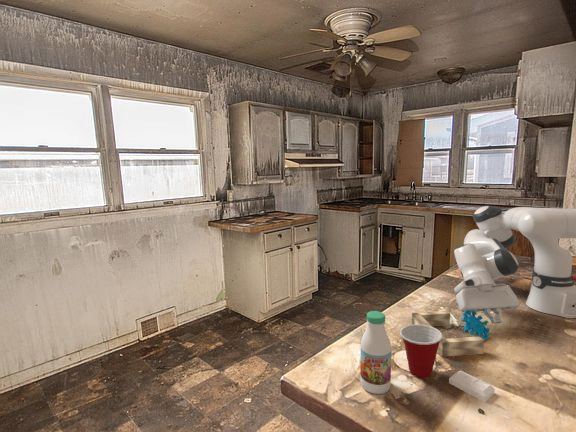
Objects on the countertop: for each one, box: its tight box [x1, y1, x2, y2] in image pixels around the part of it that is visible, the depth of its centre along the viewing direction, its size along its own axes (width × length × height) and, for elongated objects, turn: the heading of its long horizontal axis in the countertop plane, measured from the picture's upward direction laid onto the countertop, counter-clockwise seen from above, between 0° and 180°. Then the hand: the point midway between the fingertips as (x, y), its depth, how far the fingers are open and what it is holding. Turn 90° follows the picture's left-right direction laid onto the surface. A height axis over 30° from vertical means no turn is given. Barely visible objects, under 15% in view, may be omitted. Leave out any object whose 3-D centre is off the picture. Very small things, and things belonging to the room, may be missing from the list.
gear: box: [461, 311, 491, 341], centre depth 110 cm, size 11×6×10 cm
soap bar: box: [448, 370, 496, 403], centre depth 84 cm, size 5×9×3 cm, turn 35°
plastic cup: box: [399, 324, 443, 379], centre depth 90 cm, size 11×11×12 cm
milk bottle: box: [359, 310, 392, 395], centre depth 84 cm, size 8×8×20 cm
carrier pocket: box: [411, 310, 485, 358], centre depth 107 cm, size 13×20×4 cm, turn 4°
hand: (497, 323), depth 109 cm, fingers closed
